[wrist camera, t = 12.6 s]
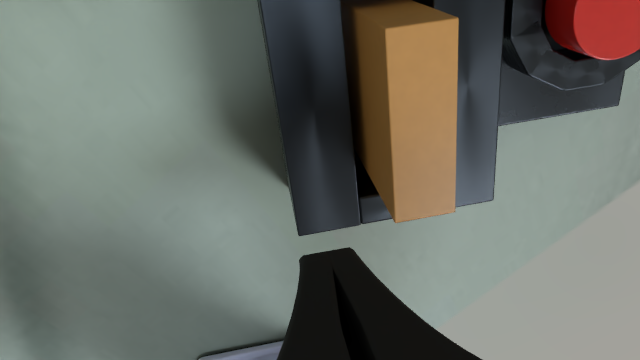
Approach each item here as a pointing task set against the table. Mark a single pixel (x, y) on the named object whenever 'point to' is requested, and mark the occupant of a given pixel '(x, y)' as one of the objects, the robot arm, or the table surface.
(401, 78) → the toast
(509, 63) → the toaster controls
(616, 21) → the button
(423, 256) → the table surface
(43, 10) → the table surface
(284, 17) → the toaster
